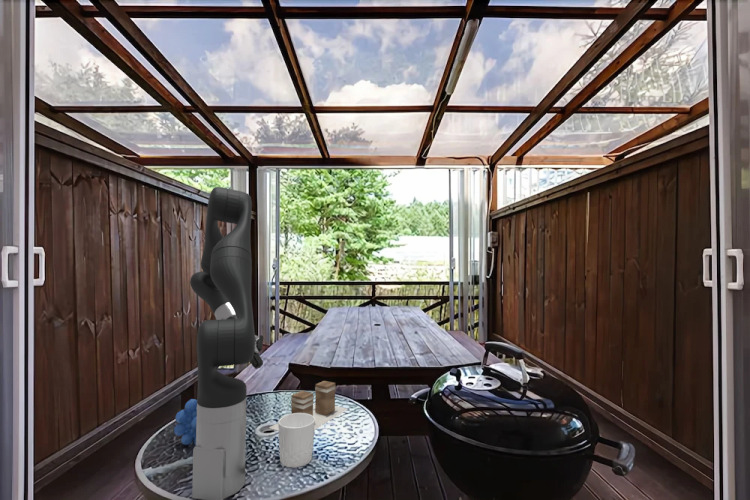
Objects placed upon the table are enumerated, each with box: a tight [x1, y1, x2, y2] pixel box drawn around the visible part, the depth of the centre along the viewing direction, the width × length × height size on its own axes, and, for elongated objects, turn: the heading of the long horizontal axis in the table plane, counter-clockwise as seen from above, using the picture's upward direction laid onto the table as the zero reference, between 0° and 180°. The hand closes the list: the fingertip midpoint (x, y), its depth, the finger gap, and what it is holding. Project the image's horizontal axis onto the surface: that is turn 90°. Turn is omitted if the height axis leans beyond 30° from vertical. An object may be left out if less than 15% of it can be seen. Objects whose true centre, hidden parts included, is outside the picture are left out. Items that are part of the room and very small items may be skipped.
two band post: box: [290, 390, 315, 416], centre depth 99 cm, size 4×4×8 cm
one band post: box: [314, 380, 337, 416], centre depth 108 cm, size 4×4×8 cm
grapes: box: [173, 398, 197, 446], centre depth 92 cm, size 12×7×12 cm, turn 95°
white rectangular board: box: [269, 403, 349, 432], centre depth 104 cm, size 11×21×2 cm, turn 150°
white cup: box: [278, 413, 315, 468], centre depth 82 cm, size 8×8×10 cm
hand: (259, 366), depth 107 cm, fingers closed
